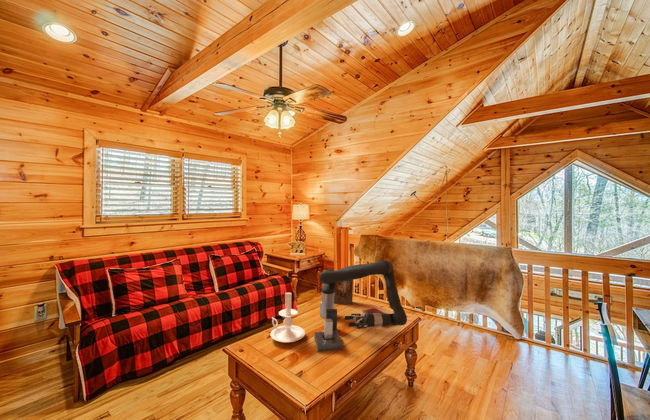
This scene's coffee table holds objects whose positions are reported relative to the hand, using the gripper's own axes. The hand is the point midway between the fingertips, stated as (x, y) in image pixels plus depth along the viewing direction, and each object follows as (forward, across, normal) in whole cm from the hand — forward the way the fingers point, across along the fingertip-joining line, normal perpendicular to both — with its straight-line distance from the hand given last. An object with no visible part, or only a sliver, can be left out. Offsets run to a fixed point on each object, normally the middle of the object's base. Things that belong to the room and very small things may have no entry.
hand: (346, 321), depth 159 cm
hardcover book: (-30, -28, +13) cm, 43 cm away
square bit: (+11, 0, +13) cm, 17 cm away
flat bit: (+6, -16, +13) cm, 21 cm away
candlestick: (+35, -11, +14) cm, 39 cm away
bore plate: (+11, 0, +13) cm, 17 cm away
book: (-12, -60, +14) cm, 63 cm away
